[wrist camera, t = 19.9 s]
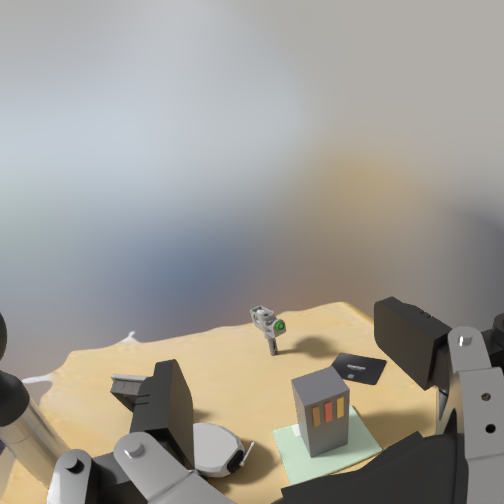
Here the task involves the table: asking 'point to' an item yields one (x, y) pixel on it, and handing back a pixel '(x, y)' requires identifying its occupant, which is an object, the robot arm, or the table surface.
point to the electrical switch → (126, 389)
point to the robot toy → (217, 451)
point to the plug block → (322, 410)
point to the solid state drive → (358, 368)
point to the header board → (309, 468)
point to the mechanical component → (268, 325)
